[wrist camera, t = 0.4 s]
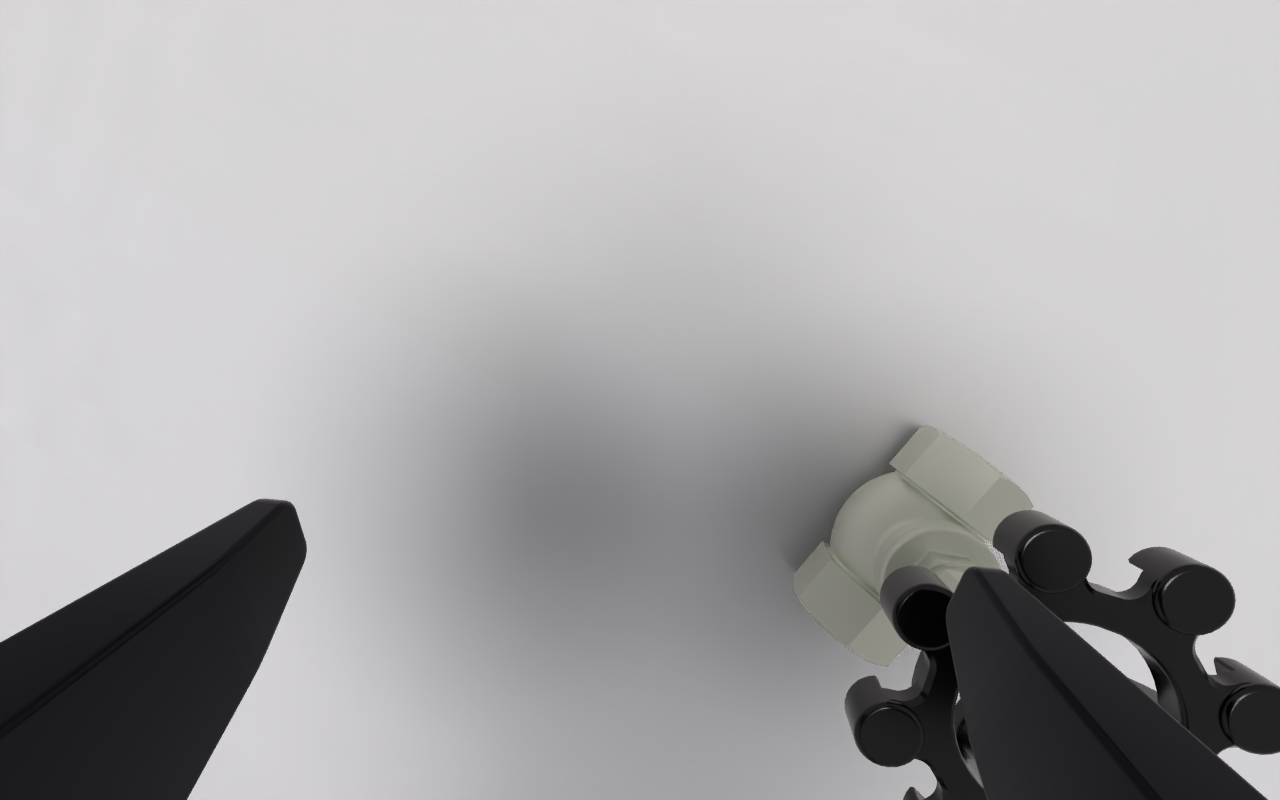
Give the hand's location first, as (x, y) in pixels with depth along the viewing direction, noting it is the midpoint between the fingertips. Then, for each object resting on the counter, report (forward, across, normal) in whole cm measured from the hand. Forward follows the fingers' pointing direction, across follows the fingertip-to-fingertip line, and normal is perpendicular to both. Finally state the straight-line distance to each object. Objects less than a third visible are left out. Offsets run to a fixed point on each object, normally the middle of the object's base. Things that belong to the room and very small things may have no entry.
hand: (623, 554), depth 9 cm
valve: (+11, -8, +9) cm, 16 cm away
